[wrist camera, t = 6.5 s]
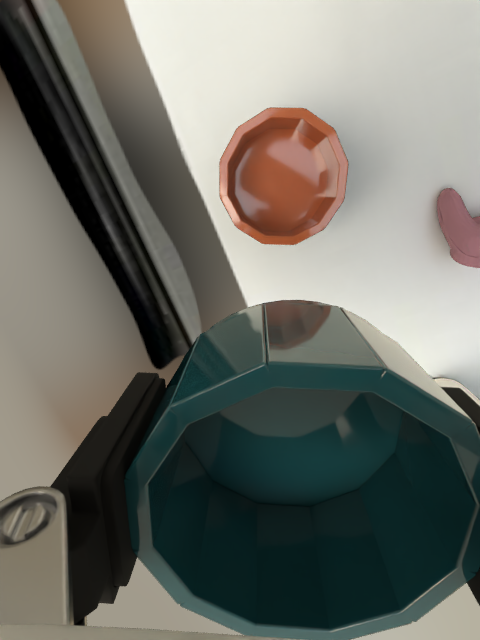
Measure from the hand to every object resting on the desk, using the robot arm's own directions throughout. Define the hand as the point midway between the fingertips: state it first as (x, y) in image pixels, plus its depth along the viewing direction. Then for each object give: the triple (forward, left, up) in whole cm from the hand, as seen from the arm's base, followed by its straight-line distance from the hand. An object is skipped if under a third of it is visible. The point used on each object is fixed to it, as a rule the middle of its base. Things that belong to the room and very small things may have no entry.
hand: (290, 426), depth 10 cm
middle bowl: (-7, 0, -18) cm, 20 cm away
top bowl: (0, 0, -2) cm, 2 cm away
